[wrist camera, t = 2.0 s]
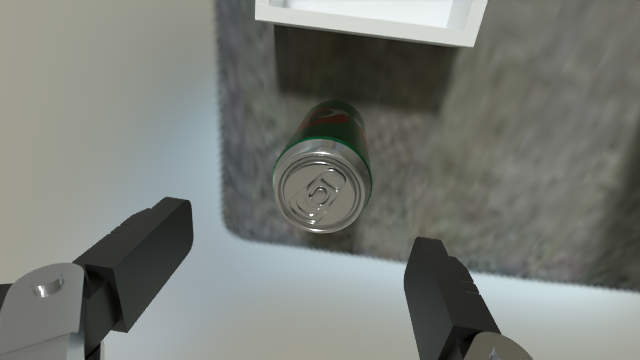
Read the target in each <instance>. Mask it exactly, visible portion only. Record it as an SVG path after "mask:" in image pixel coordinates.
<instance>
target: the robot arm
mask: <svg viewBox="0 0 640 360" xmlns="http://www.w3.org/2000/svg"><path fill="white" fill-rule="evenodd" d="M192 243H193V222H192V208H191V203H190V201H189V200H184V199H178V198H171V197H165V198H163V199H162V200H161V201H160V202H159V203H157V204H156V205H155V206H154V207H152V208H151V209H150V208H147V209H145V210H143V211H140V212H138V213H136V214H134V215H132V216H130V217H129V218H128V219H127V220H125V221H124V222H123V223H122V224H121V225H120V226H118V227H116V228H115V229H114V230H113V231H111V233H110V234H108V235H106V236H105V237H104V238H103V239H101V240H100V241H99V242H97V243H96V244H95V245H93V246H92V247H91V248H90V249H88V250H87V251H86V252H85V253H83V254H82V255H81V256H79V257H78V258H77V259H76V260H74V261H73V262H72V263H57V264H51V265H47V266H44V267H41V268H38V269H36V270H33V271H31V272H29V273H27V274H26V275H24V276H22V277H21V278H19V279H18V280H17V281H16V282H15V283H12V284H0V360H104V341H103V339H104V337H105V336H106V335H107V334H108V333H109V331H110V330H113V331H119V332H125V333H128V331H129V330H130V329H131V327H132V326H133V325H134V323H135V322H136V321H137V320H138V318H139V317H140V315H141V314H142V313H143V312H144V311H145V309H146V307H148V305H149V304H150V303H151V301H152V300H153V299H154V298H155V296H156V295H157V294H158V292H159V291H160V290H161V288H162V287H163V286H164V285H165V283H166V282H167V281H168V279H169V278H170V276H171V275H172V274H173V273H174V272H175V270H176V269H177V268H178V266H179V265H180V264H181V262H182V261H183V260H184V259H185V257H186V256H187V255H188V253H189V251H190V250H191V247H192ZM473 282H474V281H473V279H472V277H471V275H470V274H469V272H468V270H467V268H466V267H465V266H464V265H463V264H462V263H461V262H460V261H459V260H458V259H456V258H455V257H451V256H448V253H447V251H446V249H445V247H444V245H443V243H442V241H441V240H437V239H431V238H424V237H417V238H416V239H415V242H414V245H413V248H412V251H411V254H410V257H409V260H408V263H407V266H406V270H405V274H404V291H405V295H406V299H407V304H408V308H409V313H410V317H411V321H412V326H413V330H414V335H415V339H416V343H417V348H418V352H419V357H420V360H533V359H532V357H531V356H530V355H529V354H528V353H527V352H526V351H525V350H524V349H523V348H522V347H521V346H519V345H518V344H517V343H515V342H514V341H513V340H511V339H509V338H507V337H505V336H503V335H501V332H500V330H499V329H498V327H497V325H496V323H495V321H494V319H493V317H492V315H491V314H490V312H489V310H488V308H487V306H486V304H485V302H484V300H483V298H482V296H481V295H479V291H478V289H477V287H476V285H475V284H474V283H473Z"/></svg>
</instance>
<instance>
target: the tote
mask: <svg viewBox="0 0 640 360" xmlns="http://www.w3.org/2000/svg"><path fill="white" fill-rule="evenodd" d="M487 1H488V0H256V7H255V19H256V20H259V21H263V22H266V23H270V24H274V25H282V26H290V27H298V28H305V29H313V30H321V31H329V32H337V33H345V34H352V35H360V36H368V37H376V38H384V39H392V40H399V41H407V42H415V43H423V44H431V45H439V46H446V47H474V43H475V40H476V37H477V34H478V30H479V27H480V24H481V21H482V17H483V14H484V11H485V8H486V4H487Z"/></svg>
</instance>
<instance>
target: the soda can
mask: <svg viewBox="0 0 640 360" xmlns="http://www.w3.org/2000/svg"><path fill="white" fill-rule="evenodd" d="M272 187H273V192H274V195H275V200H276V203H277V206H278V208H279V210H280V211H281V213H282V214H283V216H284V217H285V218H286V219H287V220H288V221H289V222H291V223H292V224H293V225H295V226H297V227H298V228H300V229H303V230H305V231H309V232H313V233H332V232H335V231H339V230H341V229H343V228H345V227H347V226H348V225H350V224H351V223H352V222H353V221H354V220H355V219H356V218H357V217H358V216H359V214H360V213H361V212H362V211H363V210H364V208H365V207H366V205H367V203H368V201H369V199H370V196H371V192H372V177H371V170H370V163H369V156H368V149H367V142H366V135H365V128H364V123H363V119H362V117H361V115H360V114H359V113H358V111H357V110H356V109H355V108H354V107H352V106H351V105H350V104H348V103H345V102H342V101H338V100H329V101H324V102H322V103H319V104H318V105H316V106H315V107H313V108H312V109H311V110H310V112H309V113H308V114H307V116H306V117H305V119H304V120H303V122H302V123H301V125H300V126H299V128H298V129H297V131H296V132H295V134H294V135H293V137H292V138H291V140H290V141H289V143H288V144H287V146H286V147H285V149H284V150H283V152H282V153H281V155H280V156H279V158H278V160H277V161H276V164H275V166H274V169H273V173H272Z"/></svg>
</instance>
